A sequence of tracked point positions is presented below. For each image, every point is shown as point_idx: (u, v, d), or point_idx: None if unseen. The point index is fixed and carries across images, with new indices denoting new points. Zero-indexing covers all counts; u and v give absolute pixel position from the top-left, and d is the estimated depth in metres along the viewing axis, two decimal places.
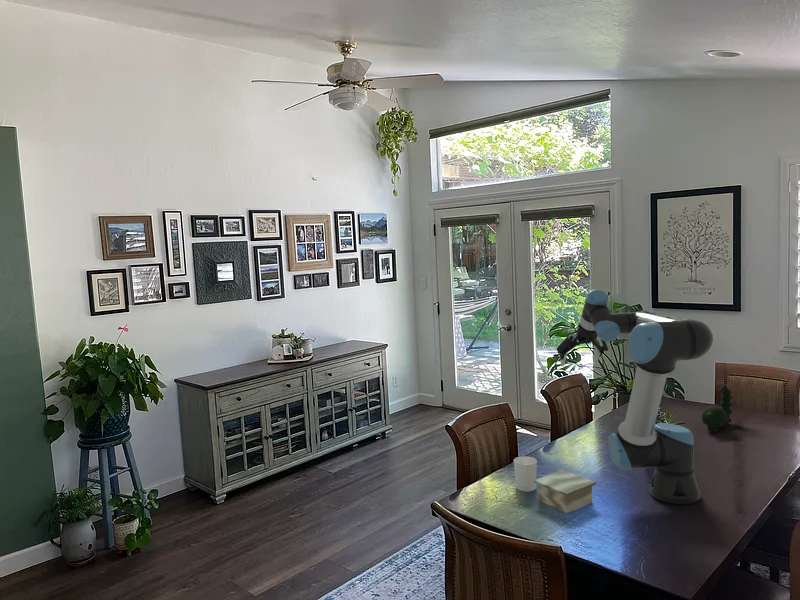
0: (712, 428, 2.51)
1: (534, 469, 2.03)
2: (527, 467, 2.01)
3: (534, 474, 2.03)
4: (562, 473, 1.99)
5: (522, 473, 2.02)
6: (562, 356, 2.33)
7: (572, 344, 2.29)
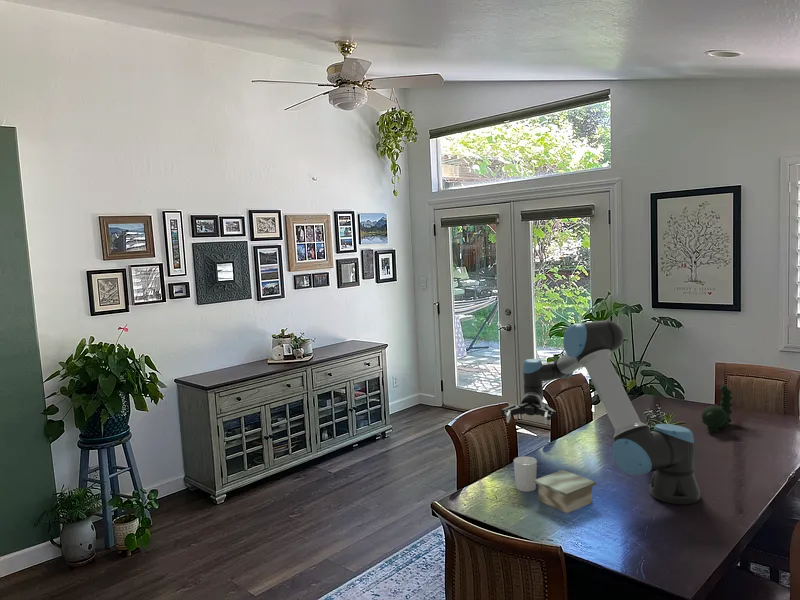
0: (712, 428, 2.51)
1: (534, 469, 2.03)
2: (527, 467, 2.01)
3: (534, 474, 2.03)
4: (562, 473, 1.99)
5: (522, 473, 2.02)
6: (506, 412, 2.21)
7: None
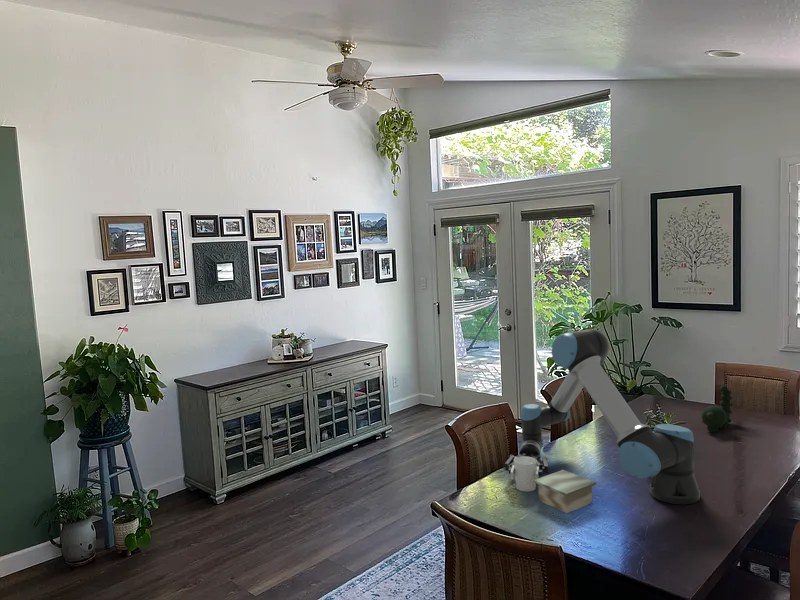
0: (712, 428, 2.51)
1: (534, 469, 2.03)
2: (527, 467, 2.01)
3: (534, 474, 2.03)
4: (562, 473, 1.99)
5: (522, 473, 2.02)
6: (510, 467, 2.07)
7: None
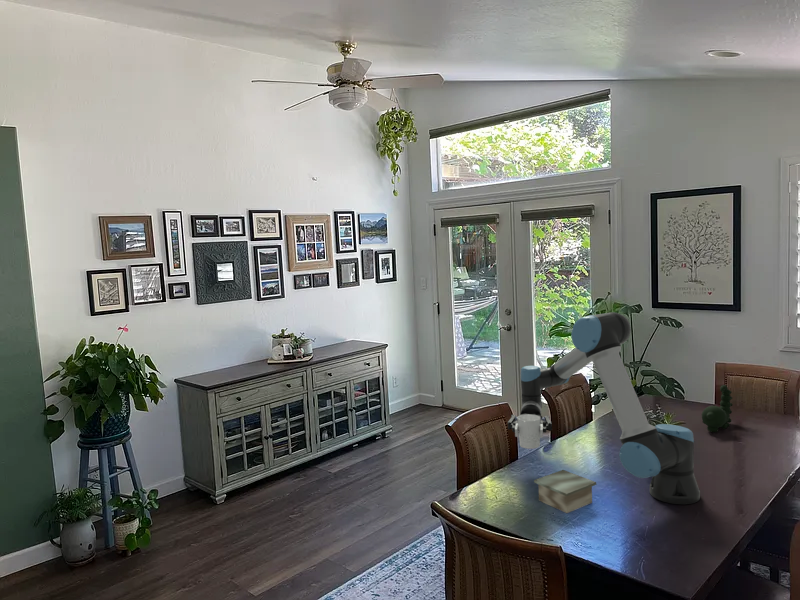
0: (712, 428, 2.51)
1: (538, 426, 1.99)
2: (531, 423, 1.98)
3: (538, 431, 2.00)
4: (562, 473, 1.99)
5: (527, 430, 1.99)
6: (514, 426, 2.04)
7: None
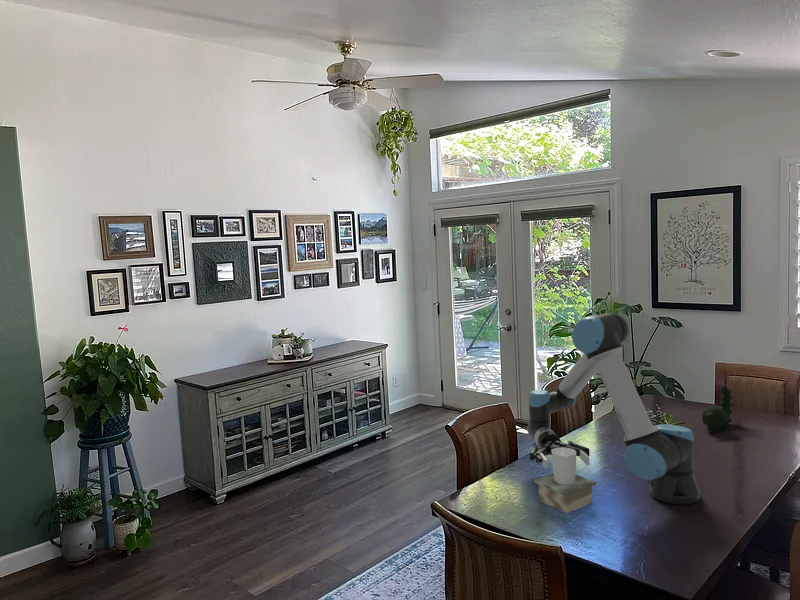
0: (712, 428, 2.51)
1: (575, 459, 1.91)
2: (570, 458, 1.89)
3: (575, 465, 1.91)
4: None
5: (566, 465, 1.89)
6: (538, 456, 1.94)
7: None
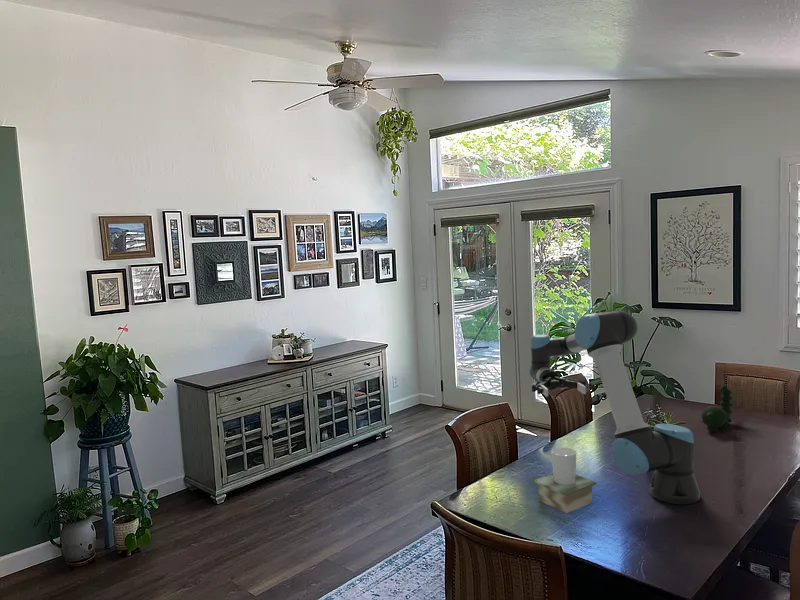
0: (712, 428, 2.51)
1: (575, 459, 1.91)
2: (570, 458, 1.89)
3: (575, 465, 1.91)
4: None
5: (566, 465, 1.89)
6: (540, 387, 2.14)
7: None
